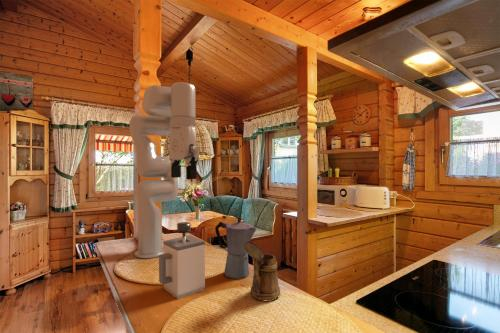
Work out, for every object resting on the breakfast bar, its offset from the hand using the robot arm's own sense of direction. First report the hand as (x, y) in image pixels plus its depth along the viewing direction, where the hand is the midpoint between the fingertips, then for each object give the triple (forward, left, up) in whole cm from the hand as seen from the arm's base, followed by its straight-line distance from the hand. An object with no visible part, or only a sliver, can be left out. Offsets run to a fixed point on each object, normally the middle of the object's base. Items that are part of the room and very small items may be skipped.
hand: (183, 178), depth 88 cm
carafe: (+1, -2, -34) cm, 35 cm away
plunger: (+1, -1, -30) cm, 30 cm away
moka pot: (+3, +18, -35) cm, 39 cm away
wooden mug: (+21, +13, -35) cm, 43 cm away
